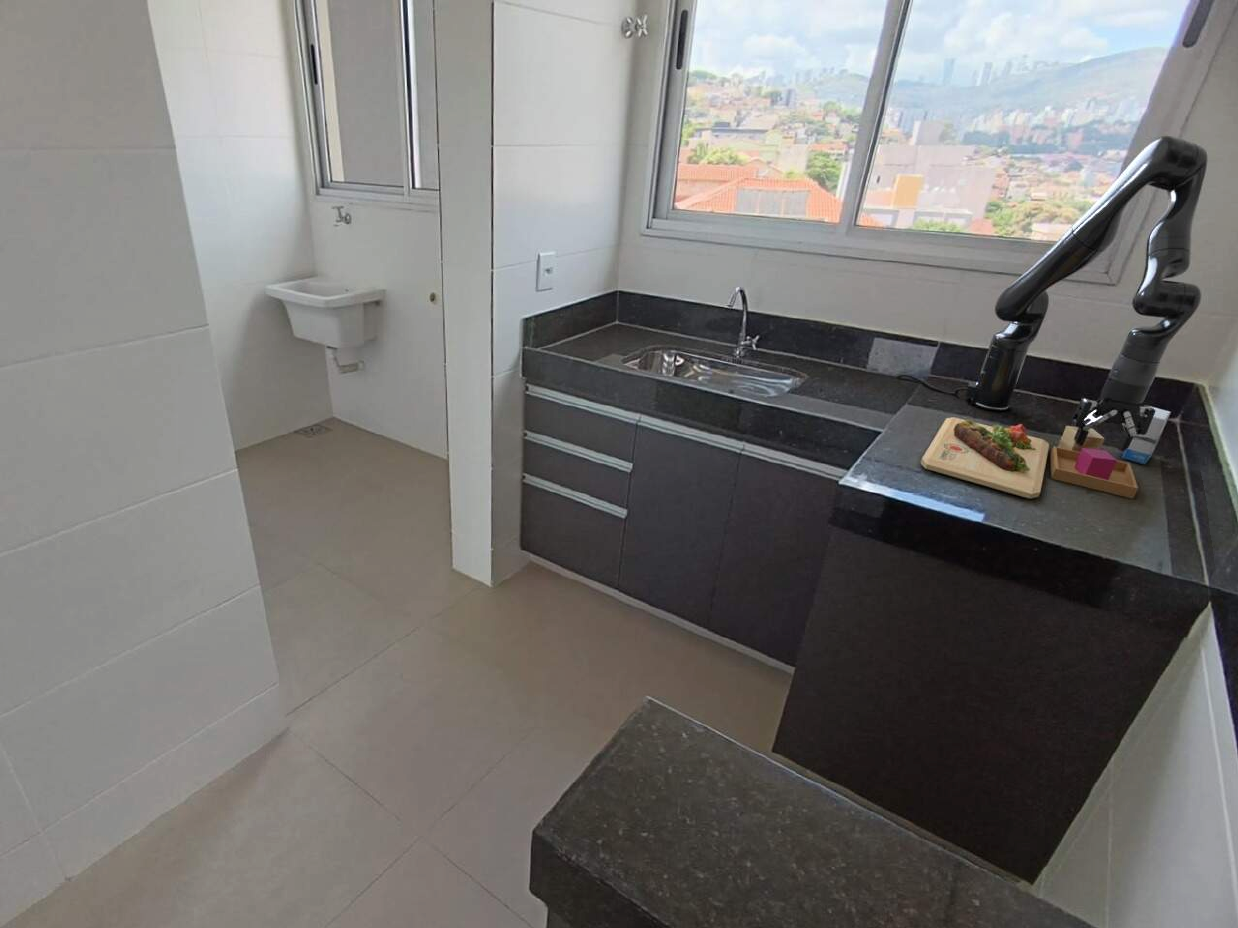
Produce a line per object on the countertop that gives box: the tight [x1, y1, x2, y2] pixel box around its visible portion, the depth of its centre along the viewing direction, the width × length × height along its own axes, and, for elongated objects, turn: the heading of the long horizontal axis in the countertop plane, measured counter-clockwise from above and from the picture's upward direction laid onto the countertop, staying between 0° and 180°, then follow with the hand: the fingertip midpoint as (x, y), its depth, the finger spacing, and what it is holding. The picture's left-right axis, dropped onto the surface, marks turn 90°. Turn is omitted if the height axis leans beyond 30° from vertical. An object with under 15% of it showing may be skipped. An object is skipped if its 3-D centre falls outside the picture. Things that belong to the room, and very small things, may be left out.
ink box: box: [1121, 405, 1172, 466], centre depth 157 cm, size 9×5×12 cm, turn 134°
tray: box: [1049, 445, 1139, 500], centre depth 147 cm, size 15×14×3 cm
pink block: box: [1074, 448, 1118, 480], centre depth 147 cm, size 5×5×5 cm
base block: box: [1057, 425, 1105, 452], centre depth 157 cm, size 6×6×6 cm
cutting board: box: [920, 417, 1050, 500], centre depth 152 cm, size 35×23×8 cm
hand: (1098, 447), depth 145 cm, fingers open, 8 cm apart
